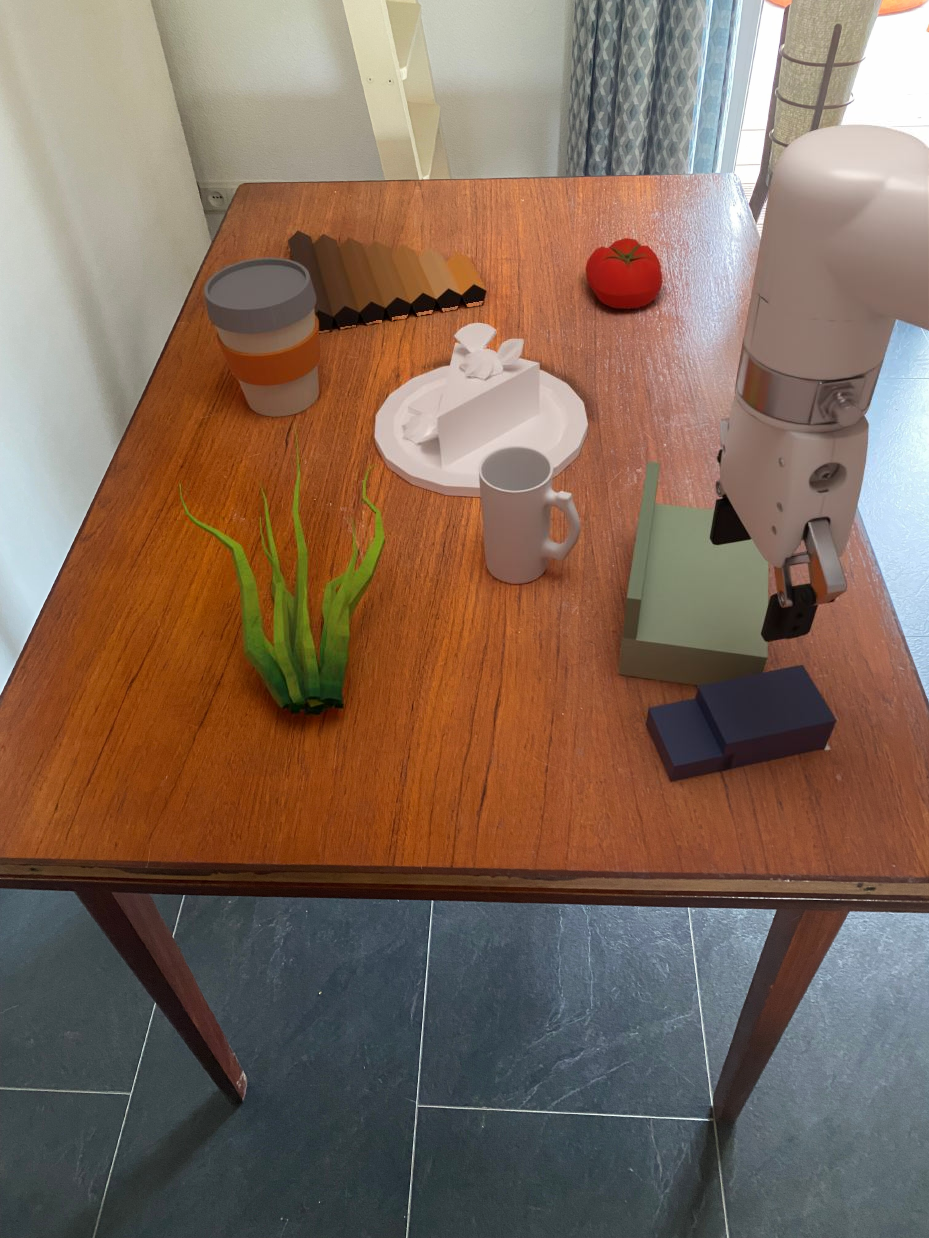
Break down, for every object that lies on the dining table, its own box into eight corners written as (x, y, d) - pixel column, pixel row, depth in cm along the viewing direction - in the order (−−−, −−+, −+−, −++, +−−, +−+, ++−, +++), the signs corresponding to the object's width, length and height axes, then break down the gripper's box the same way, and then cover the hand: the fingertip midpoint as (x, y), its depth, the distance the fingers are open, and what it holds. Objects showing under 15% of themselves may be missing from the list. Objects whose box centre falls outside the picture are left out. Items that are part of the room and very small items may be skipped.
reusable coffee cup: (278, 358, 120) (252, 248, 108) (353, 384, 115) (334, 271, 103) (212, 407, 113) (178, 294, 102) (289, 436, 108) (261, 321, 97)
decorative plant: (421, 511, 97) (408, 394, 87) (344, 736, 78) (315, 621, 67) (263, 497, 100) (232, 381, 90) (151, 709, 81) (94, 595, 70)
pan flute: (290, 253, 140) (309, 335, 123) (286, 232, 137) (305, 312, 121) (447, 228, 143) (487, 304, 126) (446, 207, 140) (486, 281, 124)
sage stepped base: (759, 553, 90) (779, 474, 83) (756, 694, 79) (780, 616, 71) (638, 539, 93) (647, 461, 85) (617, 674, 81) (626, 597, 74)
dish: (439, 354, 118) (433, 271, 110) (619, 398, 109) (627, 312, 101) (334, 460, 104) (317, 375, 96) (531, 521, 95) (531, 433, 87)
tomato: (602, 322, 121) (605, 275, 117) (577, 283, 129) (579, 238, 124) (671, 310, 123) (676, 263, 118) (642, 273, 130) (646, 228, 125)
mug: (470, 572, 91) (464, 477, 82) (504, 532, 94) (501, 437, 86) (560, 607, 87) (564, 512, 78) (591, 564, 91) (598, 469, 82)
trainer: (793, 702, 78) (808, 661, 74) (826, 759, 74) (843, 720, 70) (637, 735, 76) (643, 695, 72) (662, 795, 72) (670, 757, 68)
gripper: (949, 452, 46) (863, 668, 58) (805, 291, 58) (760, 500, 70) (807, 476, 45) (751, 688, 58) (691, 309, 57) (665, 515, 70)
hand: (756, 585), depth 64 cm, fingers open, 9 cm apart
